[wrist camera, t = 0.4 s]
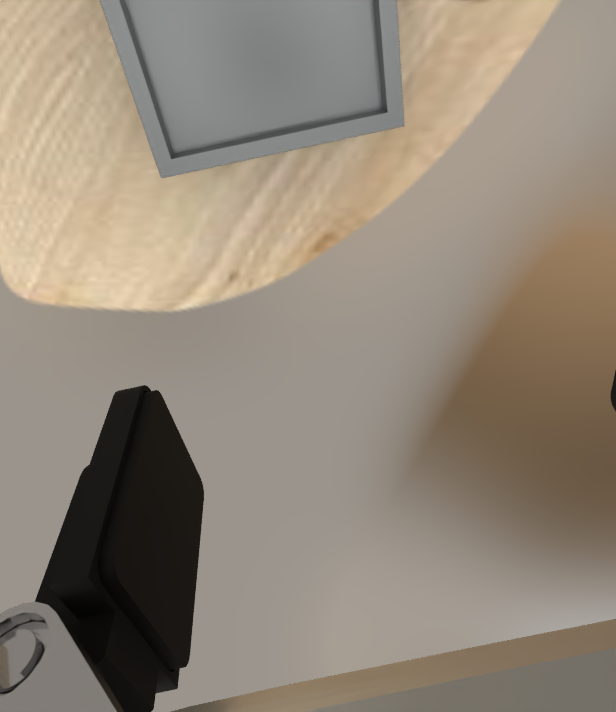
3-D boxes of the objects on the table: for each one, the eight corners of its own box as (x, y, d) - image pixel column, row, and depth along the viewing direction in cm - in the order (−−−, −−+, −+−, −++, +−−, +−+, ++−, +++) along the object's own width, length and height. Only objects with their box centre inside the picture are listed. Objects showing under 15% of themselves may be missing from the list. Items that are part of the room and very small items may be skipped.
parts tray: (74, -103, 26) (61, -112, 24) (375, -172, 26) (385, -186, 24) (165, 169, 34) (161, 178, 32) (395, 120, 34) (404, 125, 32)
